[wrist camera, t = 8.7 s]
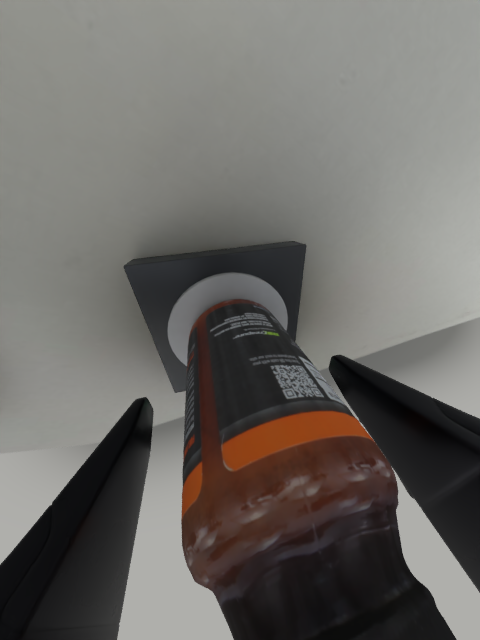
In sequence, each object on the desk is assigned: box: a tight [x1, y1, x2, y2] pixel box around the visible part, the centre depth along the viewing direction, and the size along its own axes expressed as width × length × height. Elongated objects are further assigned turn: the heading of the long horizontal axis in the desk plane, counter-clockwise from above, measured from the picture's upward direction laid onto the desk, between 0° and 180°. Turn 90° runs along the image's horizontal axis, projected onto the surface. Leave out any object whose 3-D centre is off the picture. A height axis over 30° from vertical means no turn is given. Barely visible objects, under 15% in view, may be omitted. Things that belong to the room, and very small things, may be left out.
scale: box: [124, 241, 306, 393], centre depth 13 cm, size 10×10×2 cm
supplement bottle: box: [182, 299, 456, 640], centre depth 7 cm, size 6×6×11 cm
